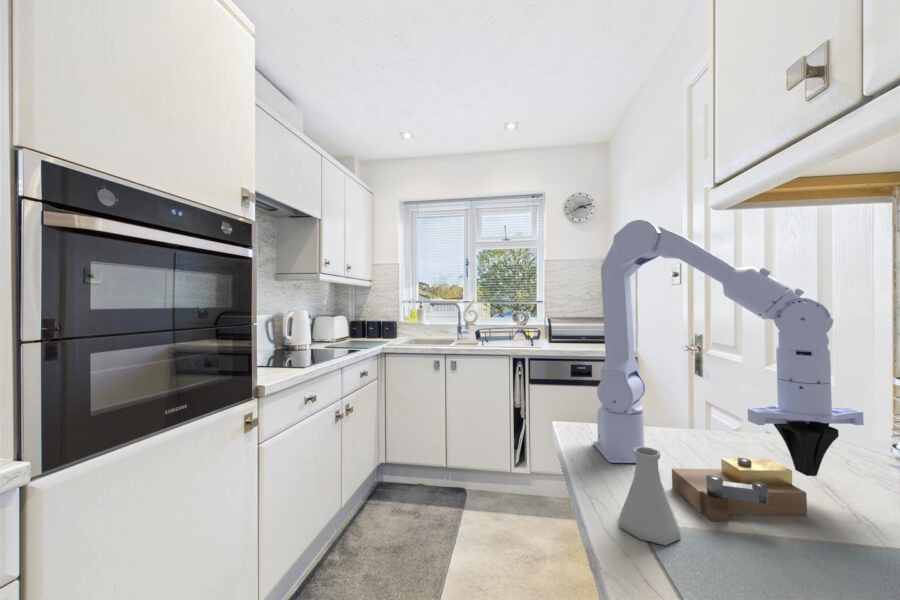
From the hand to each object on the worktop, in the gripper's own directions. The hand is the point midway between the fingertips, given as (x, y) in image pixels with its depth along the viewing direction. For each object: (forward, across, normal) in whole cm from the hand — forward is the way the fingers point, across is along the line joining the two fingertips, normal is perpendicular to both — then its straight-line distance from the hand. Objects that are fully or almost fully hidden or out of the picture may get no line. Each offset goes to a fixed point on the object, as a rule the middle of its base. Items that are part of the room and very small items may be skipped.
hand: (805, 472), depth 54 cm
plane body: (+4, -11, -1) cm, 11 cm away
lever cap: (+1, -7, 0) cm, 7 cm away
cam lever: (+1, -14, -6) cm, 15 cm away
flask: (+4, -26, -8) cm, 28 cm away
